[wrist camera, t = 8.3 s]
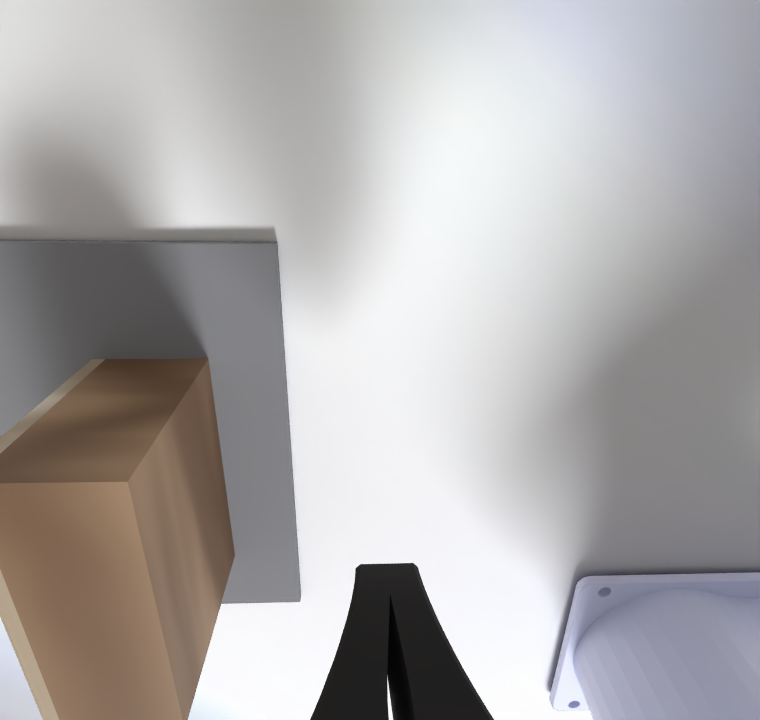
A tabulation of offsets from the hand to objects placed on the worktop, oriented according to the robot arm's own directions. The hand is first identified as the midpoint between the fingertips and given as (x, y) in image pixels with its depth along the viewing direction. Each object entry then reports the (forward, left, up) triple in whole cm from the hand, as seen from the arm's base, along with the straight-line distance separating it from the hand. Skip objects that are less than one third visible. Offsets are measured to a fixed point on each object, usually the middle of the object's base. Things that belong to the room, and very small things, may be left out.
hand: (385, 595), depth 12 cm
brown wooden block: (+7, +1, -6) cm, 9 cm away
